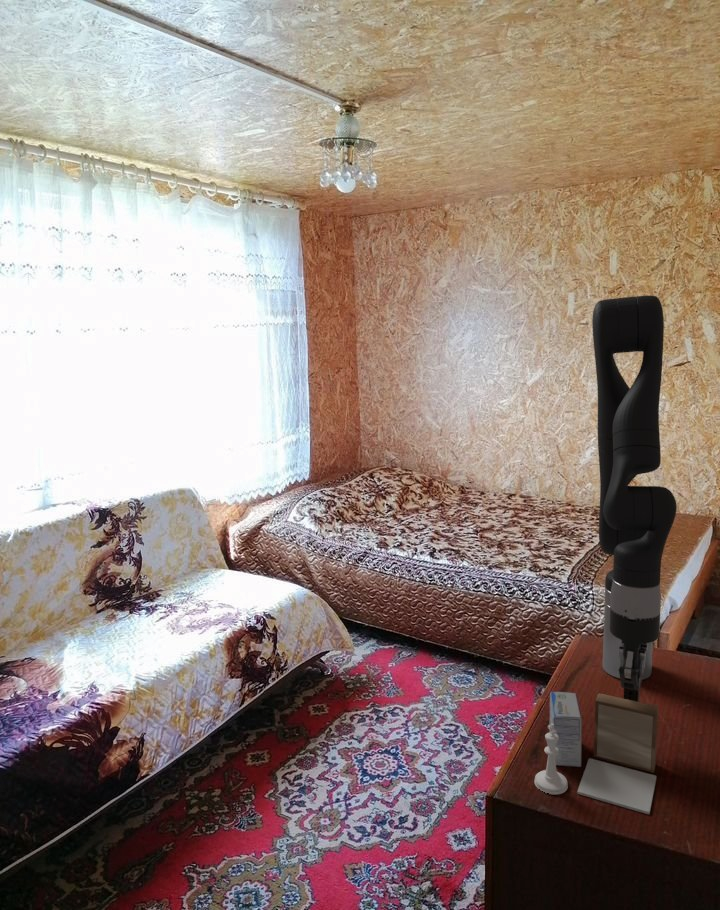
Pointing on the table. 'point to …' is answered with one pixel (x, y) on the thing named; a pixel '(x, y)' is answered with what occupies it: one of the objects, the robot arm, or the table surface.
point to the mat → (618, 785)
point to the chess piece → (551, 768)
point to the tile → (626, 732)
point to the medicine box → (566, 727)
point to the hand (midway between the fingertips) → (630, 705)
